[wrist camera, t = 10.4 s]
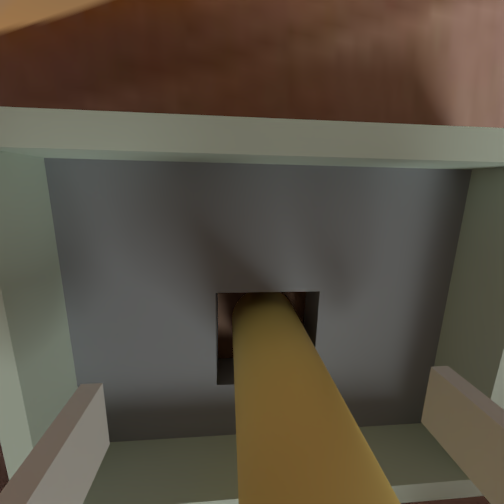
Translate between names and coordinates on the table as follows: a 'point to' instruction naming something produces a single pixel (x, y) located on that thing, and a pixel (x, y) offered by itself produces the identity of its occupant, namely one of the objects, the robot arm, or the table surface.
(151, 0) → the table surface
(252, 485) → the peg
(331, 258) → the box
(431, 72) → the table surface
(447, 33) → the table surface
